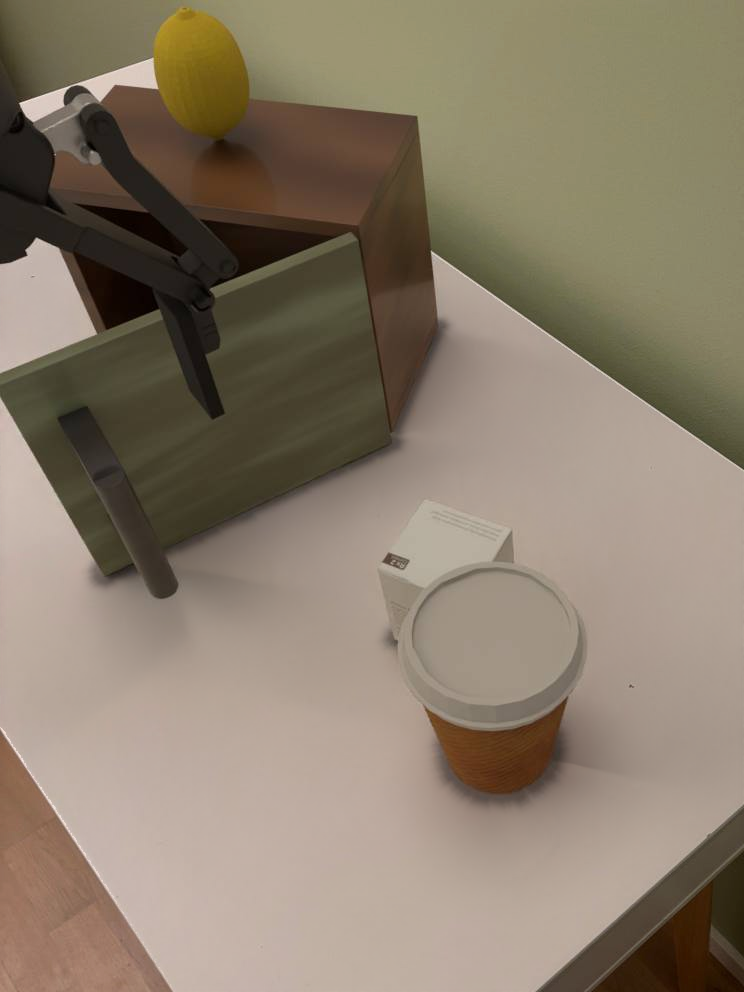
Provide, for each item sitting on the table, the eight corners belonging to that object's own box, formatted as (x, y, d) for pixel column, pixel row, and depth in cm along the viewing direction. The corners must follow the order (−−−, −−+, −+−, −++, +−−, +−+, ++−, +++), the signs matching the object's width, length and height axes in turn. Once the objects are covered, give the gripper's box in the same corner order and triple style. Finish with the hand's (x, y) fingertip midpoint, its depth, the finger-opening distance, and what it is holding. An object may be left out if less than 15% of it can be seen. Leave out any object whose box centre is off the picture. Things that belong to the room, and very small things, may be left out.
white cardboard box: (518, 600, 66) (516, 526, 60) (476, 674, 63) (469, 604, 57) (434, 570, 68) (424, 495, 62) (390, 640, 65) (374, 568, 59)
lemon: (248, 165, 65) (214, 33, 58) (164, 161, 66) (122, 30, 59) (271, 117, 68) (242, -14, 61) (191, 113, 69) (154, -16, 62)
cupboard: (392, 432, 75) (358, 225, 61) (120, 388, 79) (29, 184, 65) (438, 325, 82) (417, 115, 67) (184, 289, 86) (114, 84, 71)
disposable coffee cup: (502, 853, 57) (494, 752, 47) (384, 749, 61) (354, 635, 51) (614, 740, 60) (628, 624, 50) (495, 649, 64) (487, 524, 54)
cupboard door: (440, 502, 71) (416, 302, 57) (141, 649, 65) (34, 466, 52) (385, 434, 75) (350, 231, 61) (99, 567, 69) (-11, 376, 55)
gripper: (151, -120, 40) (267, 320, 58) (-559, 102, 33) (-179, 528, 51) (241, -52, 37) (335, 396, 54) (-534, 215, 29) (-134, 630, 47)
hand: (87, 460), depth 53 cm, fingers open, 13 cm apart
